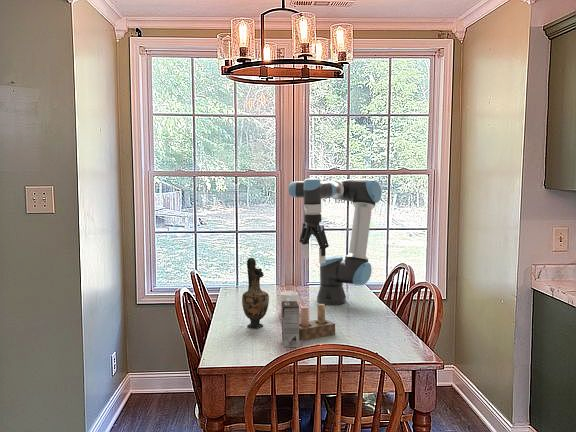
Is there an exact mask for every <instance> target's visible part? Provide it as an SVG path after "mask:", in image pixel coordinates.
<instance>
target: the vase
mask: <svg viewBox="0 0 576 432" xmlns="http://www.w3.org/2000/svg"><path fill="white" fill-rule="evenodd" d="M256 266H257V262H256V259H255V258H254V257H249V258H247V261H246V267H247V271H246V272H247V279H248V280H247V281H248V287H247V290H246V291H244V292H243V294H242V296H241V297H242V298H241V305H242V310H243V313H244V315H245V316H246V318H248V320H249V321H250V323H249V324H247V326H246V327H247V329H251V330H252V329H254V330H255V329H256V330H257V329H258V330H259V329H262V328H264V324H262V323H261V319H263V318H264V317H265V316H266V314H267V311H268V309H269V305H270V303H269V301H270V296H269V293H268V292H266V291H264V290H262V289H261V286H260V285H261V282H260V281H261V278H263V277H264V275H265V274H264V272H263V271H262V270H263V269H262V268H257V267H256Z"/></svg>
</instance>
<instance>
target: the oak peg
mask: <svg viewBox="0 0 576 432" xmlns="http://www.w3.org/2000/svg"><path fill="white" fill-rule="evenodd" d="M316 308H317V309H316V310H317V312H316V313H317V314H316V315H317V319H316V320H318V324H319V325H321V324H325V319H326V304H322V303H318V304H317V307H316Z"/></svg>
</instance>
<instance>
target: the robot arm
mask: <svg viewBox="0 0 576 432" xmlns="http://www.w3.org/2000/svg"><path fill="white" fill-rule="evenodd" d="M289 183H290V184H289V186H288V194H289V196H290V197H292V198H303V201H304V202H303V204H304V206H303V208H304V210H303V211H304V214H303V215H304V217H303V218H304V223H302V229H301V233H300V238H299V243H301V244H302V258H303V260H304V259H306V260H307V259H309V258H310V249H309V246H310V245H309V240H310V239H311V236H313V237H315V239H316V241H317V243H318V246H319V247H318V257H319V258H318V259H319V262H318V264H319V276H320V277H319V278H320V279H319V289H318V293H317V297H316V302H318V304H325V305H342V304H344V303H346V302H347V297H346V293H345V290H344V287H343V284H346V285H347V284H348V285H354V286H363V285H364V286H365V285H366V284H368V283H369V281H370V278H371V276H372V265H371V263H370V262H369V258H368V257H367V248H368V240H369V233H370V227H371V226H370V225H371V219H372V211H373V210H374V208H375V207H376V204H377V203H379V202H380V201H381V199H382V189H381V186H380V184H379V182H378V180H376V179H371V178H364V179H363V178H350V179H342V180H333V181H330V180H329V181H328V180H325V181H321V179H320V178H306V179H304V181H291V182H289ZM329 198H331V199H333V200H341V201H345V202H346V201H347V202H352V205H353V207H354V212H353V219H352V227H351V235H350V242H349V249H348V250H349V251H348V254H346V255H345V258H344V257H343V256H339V255H337V256H328V257H326V253H327V252H326V251H327V250H326V249H327V248H329V242H328V239H327V236H326V232H325V226H324V225H320V223H321V222H322V214H321V213H322V199H329Z"/></svg>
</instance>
